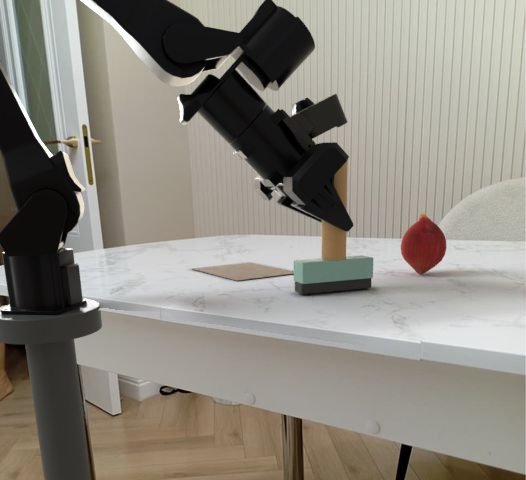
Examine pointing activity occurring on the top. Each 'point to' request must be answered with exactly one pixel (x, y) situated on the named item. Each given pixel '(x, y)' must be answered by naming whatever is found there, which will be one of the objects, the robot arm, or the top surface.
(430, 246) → the onion
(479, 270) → the top surface
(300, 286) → the wiper
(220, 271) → the brown flat rectangular panel
